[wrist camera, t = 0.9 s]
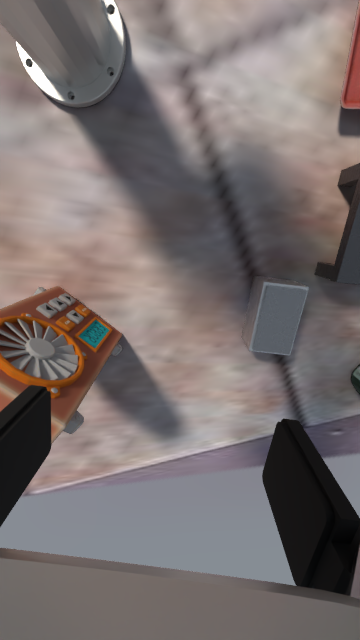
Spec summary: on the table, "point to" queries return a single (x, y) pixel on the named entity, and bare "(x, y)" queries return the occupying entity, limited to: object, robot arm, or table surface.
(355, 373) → the coffee jar
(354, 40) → the plant saucer
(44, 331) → the control panel
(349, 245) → the stand
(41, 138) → the table surface
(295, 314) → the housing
